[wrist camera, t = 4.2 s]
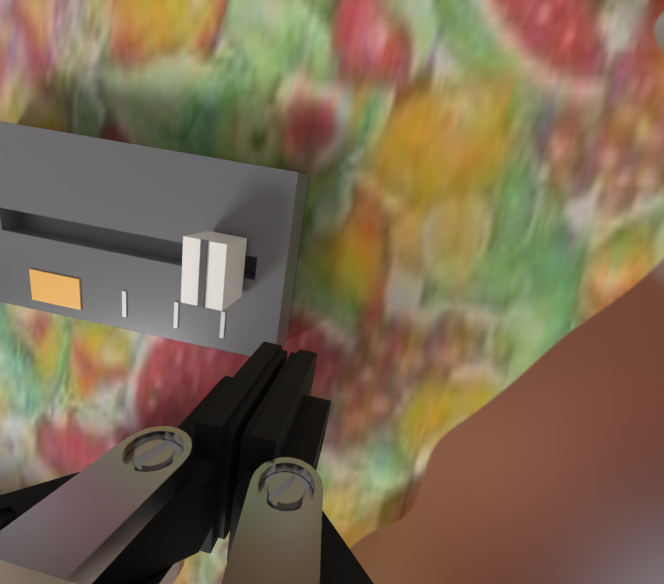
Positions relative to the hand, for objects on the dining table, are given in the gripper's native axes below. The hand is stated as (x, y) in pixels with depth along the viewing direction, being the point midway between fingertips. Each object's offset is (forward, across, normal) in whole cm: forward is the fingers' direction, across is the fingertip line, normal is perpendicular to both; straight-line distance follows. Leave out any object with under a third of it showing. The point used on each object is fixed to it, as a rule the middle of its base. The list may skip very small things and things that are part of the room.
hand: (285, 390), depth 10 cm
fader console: (+15, +15, 0) cm, 22 cm away
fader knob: (+13, +8, 0) cm, 15 cm away
